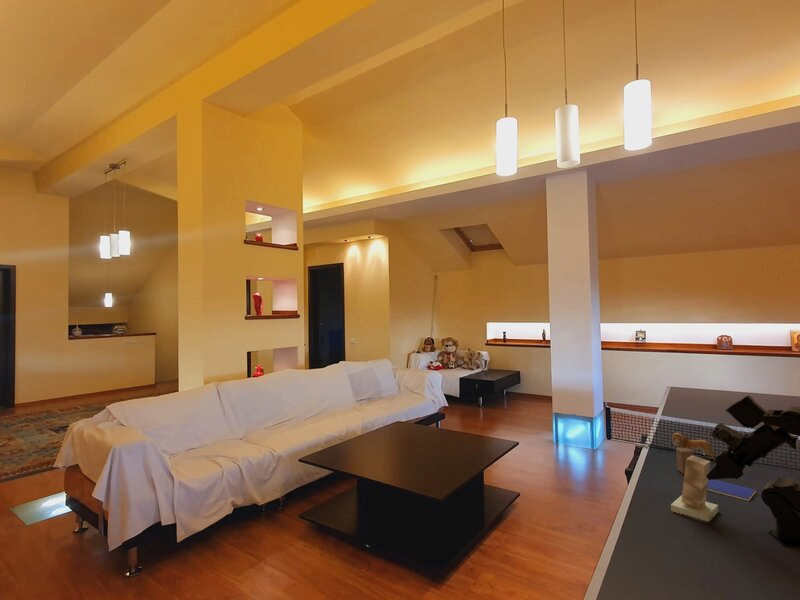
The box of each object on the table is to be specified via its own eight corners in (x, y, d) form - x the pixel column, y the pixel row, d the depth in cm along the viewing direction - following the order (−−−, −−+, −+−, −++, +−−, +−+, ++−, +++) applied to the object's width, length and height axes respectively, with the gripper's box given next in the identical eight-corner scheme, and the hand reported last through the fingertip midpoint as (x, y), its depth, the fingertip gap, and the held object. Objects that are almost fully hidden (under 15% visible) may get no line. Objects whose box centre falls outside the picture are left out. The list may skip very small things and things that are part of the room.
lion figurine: (675, 458, 161) (673, 434, 161) (670, 453, 166) (669, 430, 166) (720, 460, 157) (718, 436, 157) (714, 455, 162) (712, 432, 162)
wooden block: (688, 469, 150) (687, 447, 150) (695, 474, 146) (694, 451, 146) (676, 470, 150) (675, 447, 150) (683, 474, 146) (681, 451, 146)
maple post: (705, 505, 121) (710, 461, 120) (699, 509, 118) (704, 465, 117) (687, 497, 125) (692, 455, 124) (681, 502, 122) (686, 458, 121)
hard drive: (699, 485, 136) (748, 497, 126) (707, 477, 141) (755, 489, 131) (699, 489, 136) (748, 503, 126) (708, 482, 141) (755, 494, 131)
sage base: (718, 513, 121) (717, 505, 121) (708, 525, 115) (707, 516, 115) (682, 503, 128) (681, 494, 128) (671, 513, 122) (670, 504, 122)
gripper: (741, 409, 120) (697, 440, 128) (722, 423, 108) (676, 456, 116) (779, 443, 114) (731, 473, 122) (764, 462, 102) (712, 494, 110)
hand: (712, 473), depth 118 cm, fingers open, 9 cm apart
